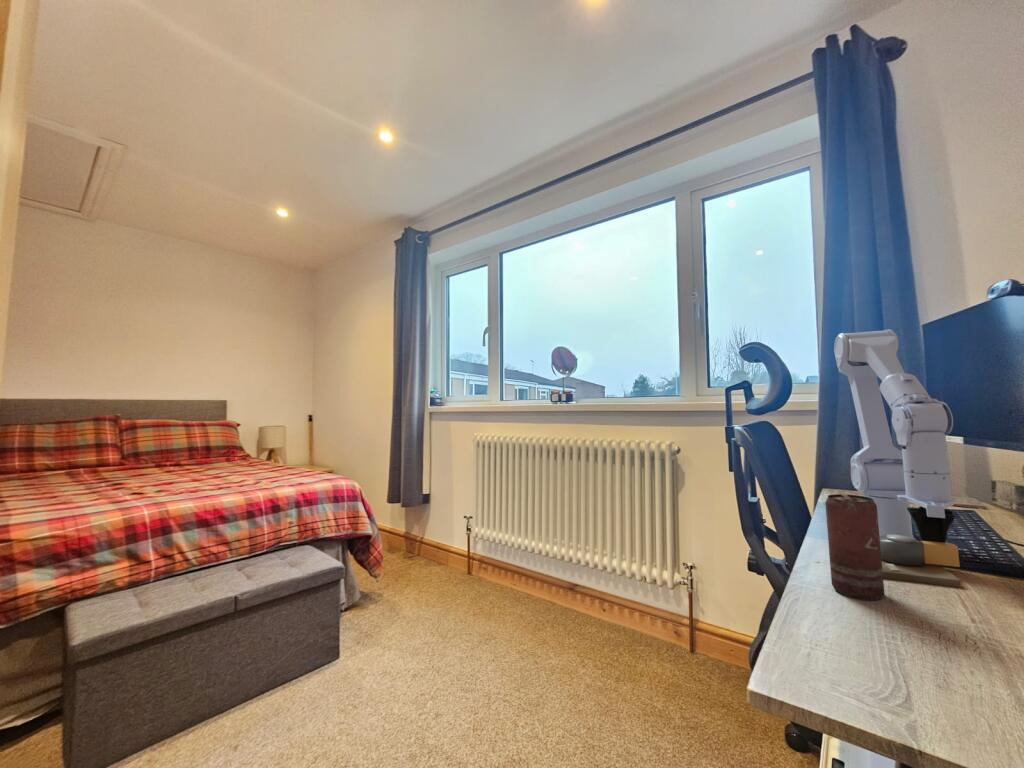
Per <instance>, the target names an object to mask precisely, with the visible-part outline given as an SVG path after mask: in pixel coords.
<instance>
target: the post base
mask: <svg viewBox="0 0 1024 768" xmlns="http://www.w3.org/2000/svg"><path fill="white" fill-rule="evenodd" d="M881 560H882V571H883V579H888V580H896V581H904V582H905V581H906V582H913V583H923V584H929V585H938V586H946V587H953V588H954V587H957V588H962V584H961V583H962V582H961V579H959V577H956V576H955V574H953V573H951V572H950V571H949V570H947V569H946V568H945V567H943V565H936V564H926V563H925V564H924V565H920V566H912V565H902V564H897V563H892V562H888V561H885V560H883V559H881Z"/></svg>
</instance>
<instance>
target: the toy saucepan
mask: <svg viewBox="0 0 1024 768" xmlns="http://www.w3.org/2000/svg"><path fill="white" fill-rule="evenodd" d="M879 537H880V548H881V559H883V560H885V561H888V562H892V563H897V564H902V565H912V566H920V565H924V564H925V563H926V564H936V565H941V566H948V567H955V568H960V566H961V565H960V558H959V547H958V545H956V544H954V543H949V542H945V543H941V542H929V541H921V540H919V539H916V538H915V539H912V538H910V537H907V536H902V535H880V536H879Z"/></svg>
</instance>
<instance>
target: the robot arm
mask: <svg viewBox="0 0 1024 768" xmlns="http://www.w3.org/2000/svg"><path fill="white" fill-rule="evenodd" d="M898 350H899V340H898V335H897V334H896V332H894V330H892V329H889V328H888V329H884V330H874V331H862V332H861V331H859V332H847V333H845V332H841V333H839V334H838V335H837V336H836V337H835V340H834V348H833V352H834V356H835V361H836V367H837V368H838V372H839V373H840V374H843V375H845V376H847V379H848V383H849V386H850V390H851V394H852V400H853V404H854V409H855V414H856V418H857V423H858V428H859V432H860V436H861V441H862V446H863V448H861V449H860V450H858V451H857V452H855V453H854V454H853V455H851V458H850V479H851V483H852V486H853V487H854V489H856V490H857V491H858V492H859V493H861V494H862V496H864V497H869V498H872V499H873V501H874V502H875V504H876V505H877V513H878V525H879V536H880V535H902V536H907V537H910V538H912V539H916V538H915V537H914V536H913V527H912V519H913V521H914V523H915V526H916V528H917V531H918V534H919V539H920V541H929V542H941V543H946V540H947V535H948V531H949V529H950V528H951V524H952V523H953V522H954V520H955V517H956V516H955V514H954V513H953V511H952V510H951V509H949V508H950V507H952V506H954V505H955V500H954V499H953V497H952V485H951V476H950V467H949V466H950V465H949V457H948V455H949V454H948V447H947V437H946V436H947V435H950V433H951V432H952V430H953V427H954V417H953V412H952V411H951V409H950V407H949V405H948V404H947V403H946V402H944V401H939V400H938V399H937V398H932V397H931V396H930V394H929V393H928V392H927V390H926V389H925V388H924V386H923V385H922V384H921V382H920V380H919V379H918V378H917V377H916V376H915V375H913V374H910V373H906V371H904V369H903V366H902V364H901V363H900V361H899V359H898V358H899V357H897V353H898ZM878 378H879V379H880V380H881V383H880V384H879V381H878ZM882 396H883V398H884V399H885V401H886V404H887V405H888V406H889V408H890V409H891V411H892V413H891V424H892V425H891V426H892V427H893V429H894V430H893V431H894V432H895V435H896V441H897V444H898V445H900V446H901V449H899V448H897V447H895V446H894V443H893V439H892V435H891V431H890V427H889V423H888V418H887V415H886V410H885V405H884V401H883V398H882ZM911 504H912V505H916V506H918V507H914V506H913V507H912V506H911ZM911 517H912V518H911Z"/></svg>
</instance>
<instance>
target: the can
mask: <svg viewBox="0 0 1024 768" xmlns="http://www.w3.org/2000/svg"><path fill="white" fill-rule="evenodd" d="M824 504H825V516H826V526H827V527H826V528H827V529H826V530H827V541H828V553H829V554H828V555H829V565H830V568H829V569H830V578H831V580H830V581H831V586H833V587H832V588H833V589H834V590H835V591H836V592H837V593H839V594H841V595H843V596H846V597H849V598H851V599H852V598H853V599H857V600H862V601H879V600H881V599H882V598H883V597H884V596H885V583H884V578H883V571H882V560H881V548H880V537H879V525H878V513H877V505H876V504H875V502H874V501H873V499H872V498H869V497H864V496H863V495H857V494H854V495H853V494H845V493H839V494H837V493H836V494H835V493H834V494H829V495H827V498H826V500H825V502H824Z"/></svg>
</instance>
